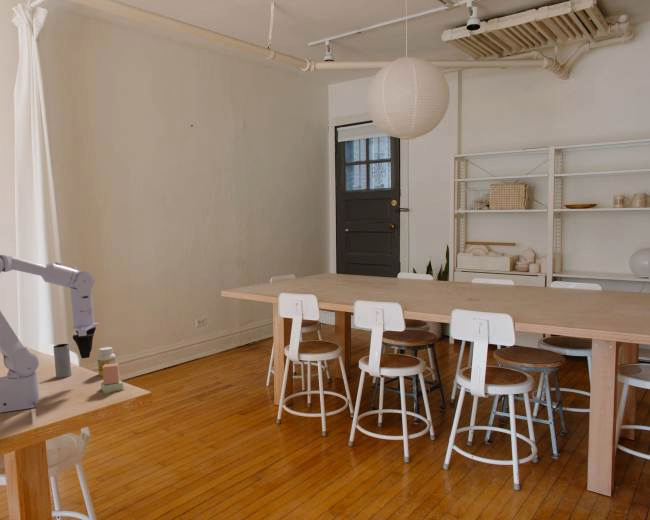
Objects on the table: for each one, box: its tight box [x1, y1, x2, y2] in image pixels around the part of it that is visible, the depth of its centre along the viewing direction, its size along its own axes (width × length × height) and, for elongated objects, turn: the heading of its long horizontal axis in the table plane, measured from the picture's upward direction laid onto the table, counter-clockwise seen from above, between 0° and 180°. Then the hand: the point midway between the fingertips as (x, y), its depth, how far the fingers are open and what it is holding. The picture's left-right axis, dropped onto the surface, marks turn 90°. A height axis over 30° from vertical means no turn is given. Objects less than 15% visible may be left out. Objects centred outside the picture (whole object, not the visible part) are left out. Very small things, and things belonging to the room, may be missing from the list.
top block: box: [100, 380, 124, 394], centre depth 156 cm, size 5×5×2 cm
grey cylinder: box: [53, 343, 72, 379], centre depth 175 cm, size 4×4×10 cm
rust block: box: [102, 362, 121, 384], centre depth 156 cm, size 4×4×5 cm
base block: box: [99, 387, 125, 395], centre depth 156 cm, size 6×6×2 cm
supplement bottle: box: [97, 346, 117, 377], centre depth 172 cm, size 5×5×10 cm
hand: (86, 354), depth 161 cm, fingers open, 7 cm apart
